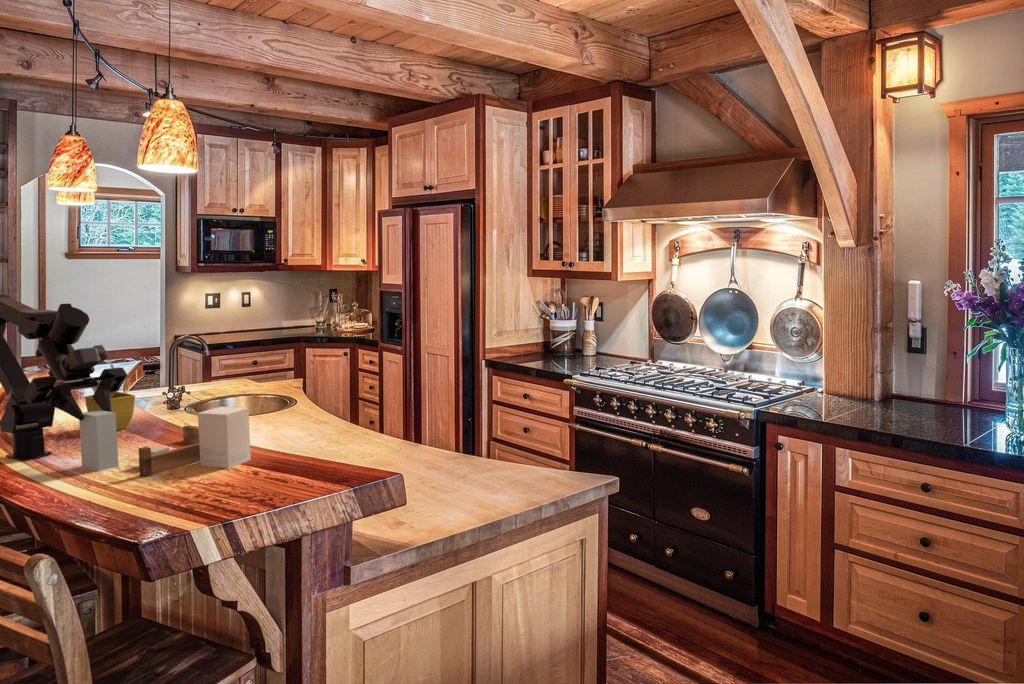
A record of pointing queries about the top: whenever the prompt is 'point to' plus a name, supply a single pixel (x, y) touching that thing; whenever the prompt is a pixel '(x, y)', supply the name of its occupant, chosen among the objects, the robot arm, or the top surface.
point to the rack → (171, 455)
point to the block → (99, 440)
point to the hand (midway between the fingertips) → (96, 416)
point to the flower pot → (116, 407)
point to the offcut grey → (158, 449)
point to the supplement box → (224, 437)
